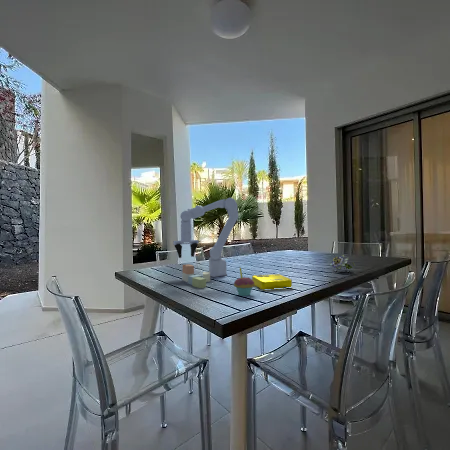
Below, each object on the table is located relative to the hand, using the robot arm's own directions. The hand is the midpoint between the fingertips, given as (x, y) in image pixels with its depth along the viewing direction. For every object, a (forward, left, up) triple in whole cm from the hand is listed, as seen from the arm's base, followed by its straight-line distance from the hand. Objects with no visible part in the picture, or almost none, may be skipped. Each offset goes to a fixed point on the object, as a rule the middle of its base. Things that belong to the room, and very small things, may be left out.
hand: (186, 257), depth 163 cm
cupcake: (-2, +50, -11) cm, 51 cm away
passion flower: (-82, +41, -11) cm, 92 cm away
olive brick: (+7, +27, -11) cm, 29 cm away
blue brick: (+5, +20, -11) cm, 23 cm away
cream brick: (-3, +17, -11) cm, 20 cm away
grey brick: (+5, +12, -10) cm, 17 cm away
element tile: (-22, +45, -11) cm, 51 cm away
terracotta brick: (+5, +12, -6) cm, 15 cm away
